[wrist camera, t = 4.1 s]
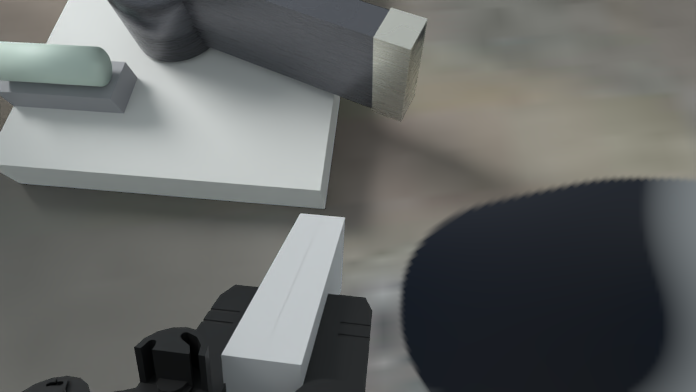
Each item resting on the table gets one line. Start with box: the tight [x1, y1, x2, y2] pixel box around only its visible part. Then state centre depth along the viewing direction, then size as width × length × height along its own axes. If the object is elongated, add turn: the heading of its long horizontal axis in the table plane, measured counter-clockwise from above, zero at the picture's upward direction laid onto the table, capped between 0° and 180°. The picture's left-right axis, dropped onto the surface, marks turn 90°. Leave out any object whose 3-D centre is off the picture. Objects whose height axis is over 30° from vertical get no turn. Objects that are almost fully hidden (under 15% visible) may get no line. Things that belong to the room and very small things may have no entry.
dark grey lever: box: [107, 0, 428, 122], centre depth 25 cm, size 21×6×7 cm, turn 64°
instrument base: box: [0, 0, 340, 209], centre depth 30 cm, size 22×24×7 cm
